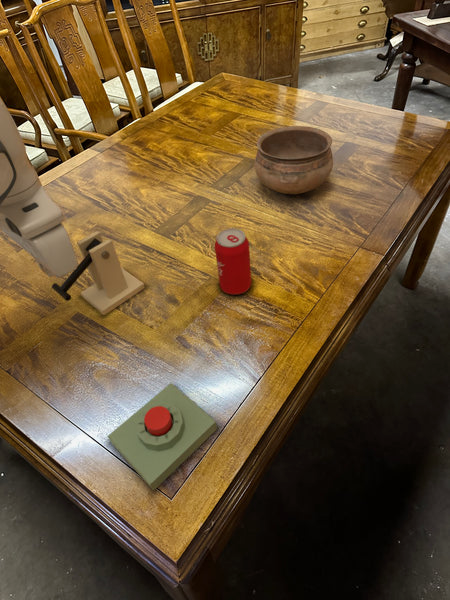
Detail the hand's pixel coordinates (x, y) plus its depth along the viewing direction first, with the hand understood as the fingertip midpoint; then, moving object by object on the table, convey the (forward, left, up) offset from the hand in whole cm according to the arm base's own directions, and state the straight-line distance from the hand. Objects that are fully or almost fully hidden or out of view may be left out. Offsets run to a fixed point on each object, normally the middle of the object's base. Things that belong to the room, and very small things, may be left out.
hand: (50, 271), depth 72 cm
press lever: (+6, 0, -4) cm, 7 cm away
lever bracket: (+9, 0, -12) cm, 15 cm away
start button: (-4, -32, -8) cm, 33 cm away
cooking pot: (+62, -4, -12) cm, 64 cm away
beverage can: (+26, -18, -12) cm, 34 cm away
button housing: (-4, -32, -12) cm, 34 cm away
